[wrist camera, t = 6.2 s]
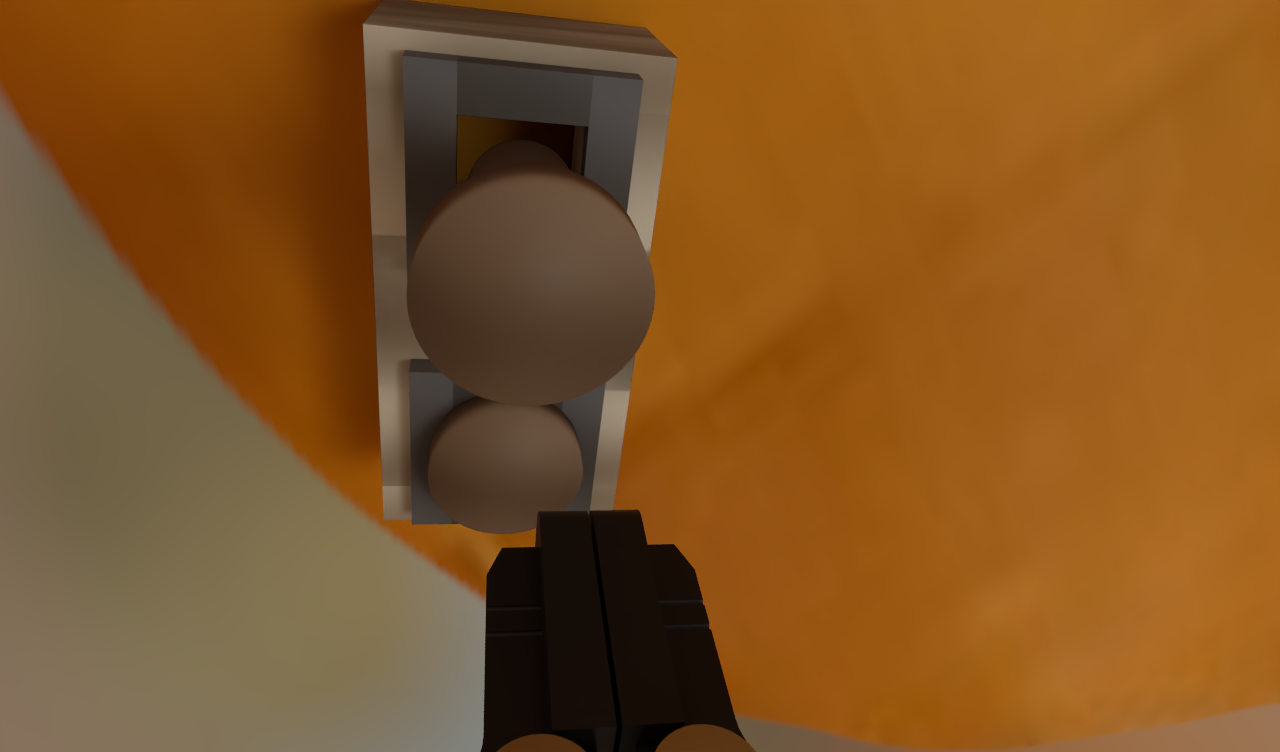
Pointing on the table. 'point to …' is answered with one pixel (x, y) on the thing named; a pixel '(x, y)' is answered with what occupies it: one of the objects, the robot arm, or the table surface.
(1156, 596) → the table surface
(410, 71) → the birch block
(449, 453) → the brown mushroom knob
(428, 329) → the brown rounded piece
